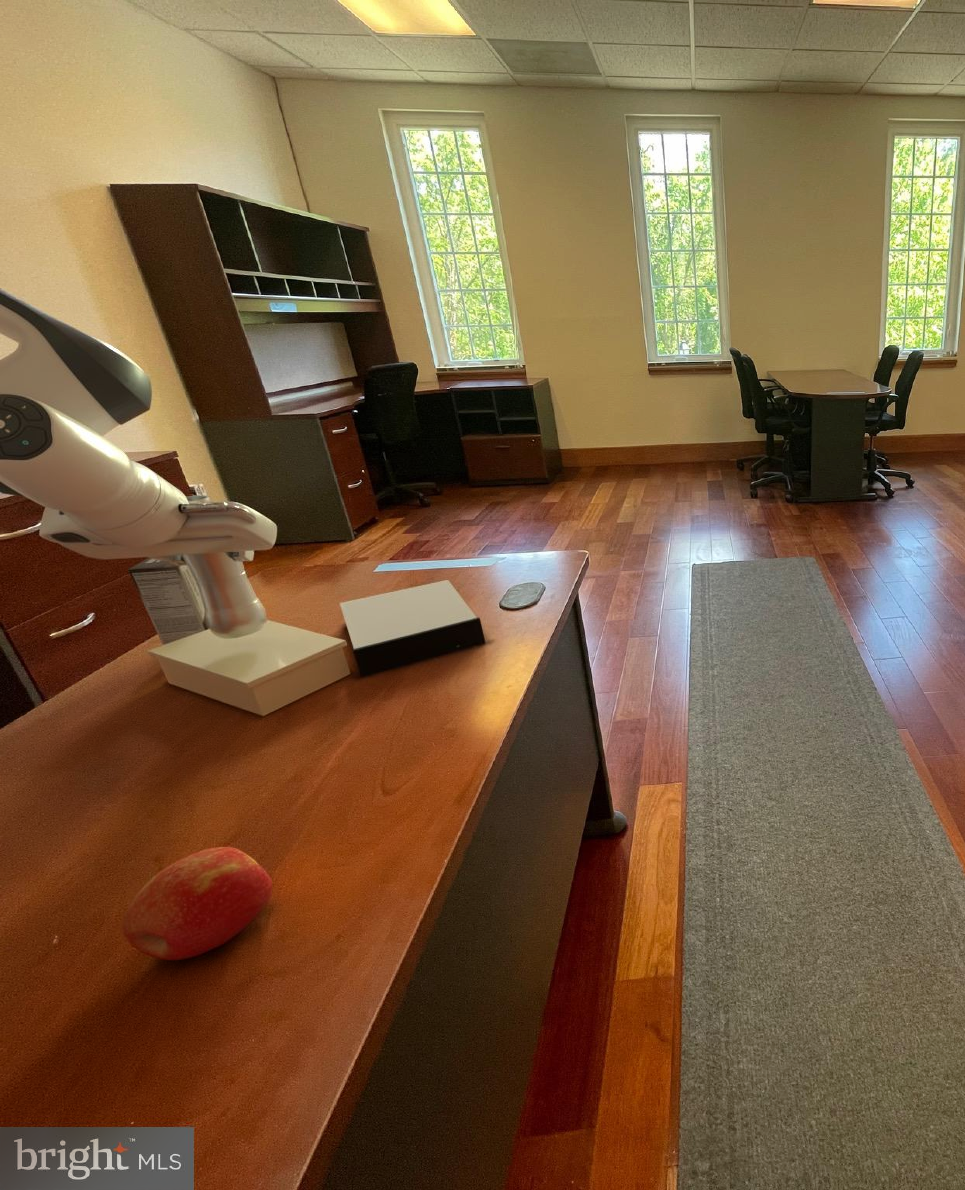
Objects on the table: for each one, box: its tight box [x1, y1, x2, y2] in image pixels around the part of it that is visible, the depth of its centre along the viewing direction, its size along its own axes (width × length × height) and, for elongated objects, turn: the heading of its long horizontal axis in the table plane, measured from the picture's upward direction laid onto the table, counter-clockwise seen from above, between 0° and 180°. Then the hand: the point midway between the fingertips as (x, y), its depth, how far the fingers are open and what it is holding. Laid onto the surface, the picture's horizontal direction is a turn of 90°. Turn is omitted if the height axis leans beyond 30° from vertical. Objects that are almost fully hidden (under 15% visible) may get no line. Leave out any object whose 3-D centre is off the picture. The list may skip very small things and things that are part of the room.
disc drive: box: [339, 579, 486, 678], centre depth 104 cm, size 18×22×5 cm
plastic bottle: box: [181, 494, 268, 639], centre depth 84 cm, size 6×7×20 cm
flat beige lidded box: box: [147, 619, 351, 717], centre depth 90 cm, size 23×13×6 cm, turn 68°
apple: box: [122, 846, 273, 961], centre depth 52 cm, size 8×8×8 cm
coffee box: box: [127, 557, 209, 645], centre depth 97 cm, size 9×6×16 cm
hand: (216, 558), depth 84 cm, fingers closed on plastic bottle, 6 cm apart
